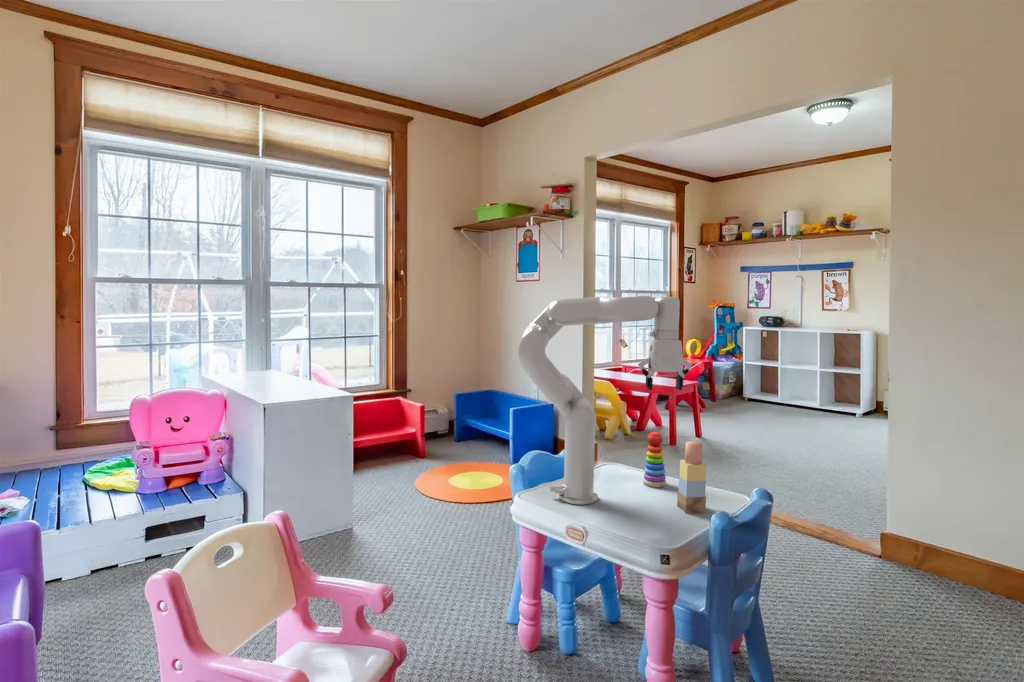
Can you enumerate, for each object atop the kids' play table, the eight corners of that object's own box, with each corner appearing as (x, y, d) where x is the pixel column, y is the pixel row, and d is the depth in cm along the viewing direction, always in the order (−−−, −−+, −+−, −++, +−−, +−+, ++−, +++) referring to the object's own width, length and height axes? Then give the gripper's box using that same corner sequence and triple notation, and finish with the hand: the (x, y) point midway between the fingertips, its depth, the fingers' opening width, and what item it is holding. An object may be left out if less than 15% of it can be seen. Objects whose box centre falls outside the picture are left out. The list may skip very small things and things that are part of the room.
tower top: (686, 481, 179) (687, 465, 178) (679, 475, 184) (680, 459, 184) (705, 480, 179) (705, 464, 179) (697, 475, 185) (697, 459, 185)
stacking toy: (664, 481, 210) (666, 429, 208) (667, 488, 202) (669, 435, 200) (641, 480, 210) (643, 429, 209) (644, 487, 202) (646, 434, 201)
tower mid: (686, 497, 179) (686, 481, 178) (678, 490, 185) (679, 475, 184) (705, 496, 180) (705, 481, 179) (696, 490, 185) (697, 474, 185)
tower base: (685, 513, 179) (685, 497, 179) (677, 506, 185) (677, 490, 185) (705, 513, 180) (706, 497, 179) (696, 505, 186) (697, 490, 186)
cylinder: (688, 464, 179) (689, 445, 178) (682, 459, 184) (683, 441, 183) (704, 464, 179) (705, 445, 179) (697, 459, 184) (698, 441, 184)
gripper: (643, 336, 181) (641, 391, 182) (697, 337, 183) (695, 391, 184) (635, 334, 188) (634, 387, 190) (687, 335, 190) (685, 387, 192)
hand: (664, 389), depth 187 cm, fingers open, 9 cm apart
